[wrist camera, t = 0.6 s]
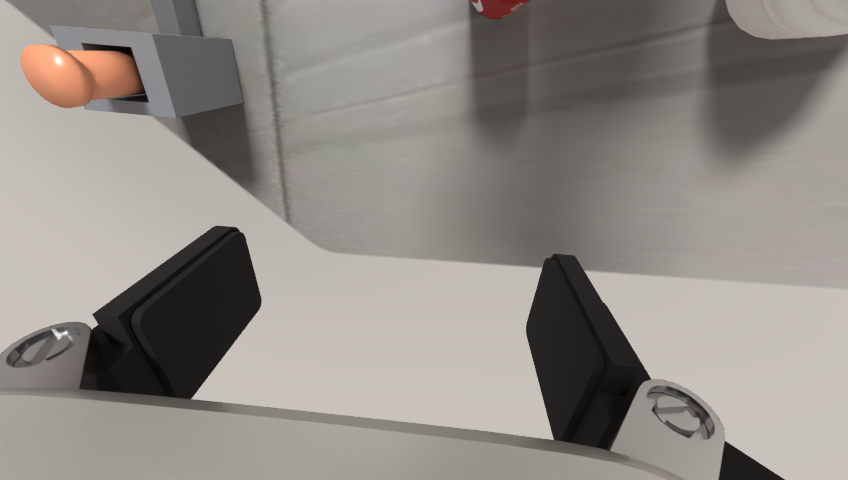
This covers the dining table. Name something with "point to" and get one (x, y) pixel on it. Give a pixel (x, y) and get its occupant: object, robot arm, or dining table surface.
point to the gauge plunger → (80, 74)
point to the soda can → (497, 7)
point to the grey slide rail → (177, 17)
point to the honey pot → (790, 17)
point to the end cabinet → (164, 70)
